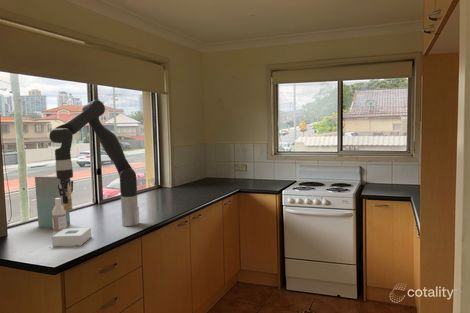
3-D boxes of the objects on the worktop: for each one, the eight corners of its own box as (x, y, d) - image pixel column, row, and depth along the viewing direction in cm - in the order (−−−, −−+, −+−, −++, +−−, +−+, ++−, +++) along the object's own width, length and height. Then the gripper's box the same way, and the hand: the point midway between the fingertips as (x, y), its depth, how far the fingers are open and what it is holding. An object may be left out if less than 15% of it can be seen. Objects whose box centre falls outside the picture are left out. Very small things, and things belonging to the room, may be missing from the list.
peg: (73, 208, 194) (71, 185, 193) (70, 210, 190) (68, 186, 189) (65, 209, 194) (63, 185, 193) (62, 210, 190) (60, 187, 189)
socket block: (91, 237, 202) (90, 227, 201) (81, 245, 188) (80, 235, 187) (64, 238, 201) (63, 228, 201) (52, 246, 187) (51, 236, 187)
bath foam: (53, 233, 210) (51, 197, 208) (67, 232, 213) (64, 196, 211) (53, 237, 204) (50, 200, 202) (67, 235, 206) (65, 198, 205)
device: (70, 224, 229) (67, 175, 226) (61, 228, 222) (57, 176, 219) (48, 223, 234) (44, 174, 231) (38, 226, 226) (34, 176, 224)
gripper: (66, 170, 183) (69, 205, 185) (77, 166, 197) (80, 199, 199) (50, 171, 183) (53, 206, 185) (62, 167, 197) (65, 200, 199)
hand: (67, 202), depth 192 cm, fingers closed on peg, 4 cm apart
